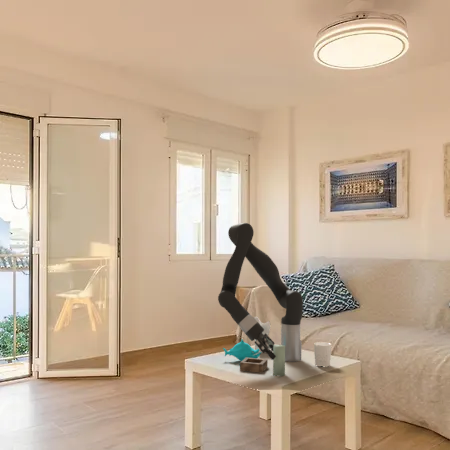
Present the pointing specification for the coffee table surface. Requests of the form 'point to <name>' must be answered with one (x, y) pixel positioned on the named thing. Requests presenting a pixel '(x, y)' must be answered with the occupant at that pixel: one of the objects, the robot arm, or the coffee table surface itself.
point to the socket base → (253, 364)
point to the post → (279, 360)
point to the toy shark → (243, 351)
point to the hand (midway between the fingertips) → (276, 356)
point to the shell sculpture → (266, 329)
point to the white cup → (322, 353)
